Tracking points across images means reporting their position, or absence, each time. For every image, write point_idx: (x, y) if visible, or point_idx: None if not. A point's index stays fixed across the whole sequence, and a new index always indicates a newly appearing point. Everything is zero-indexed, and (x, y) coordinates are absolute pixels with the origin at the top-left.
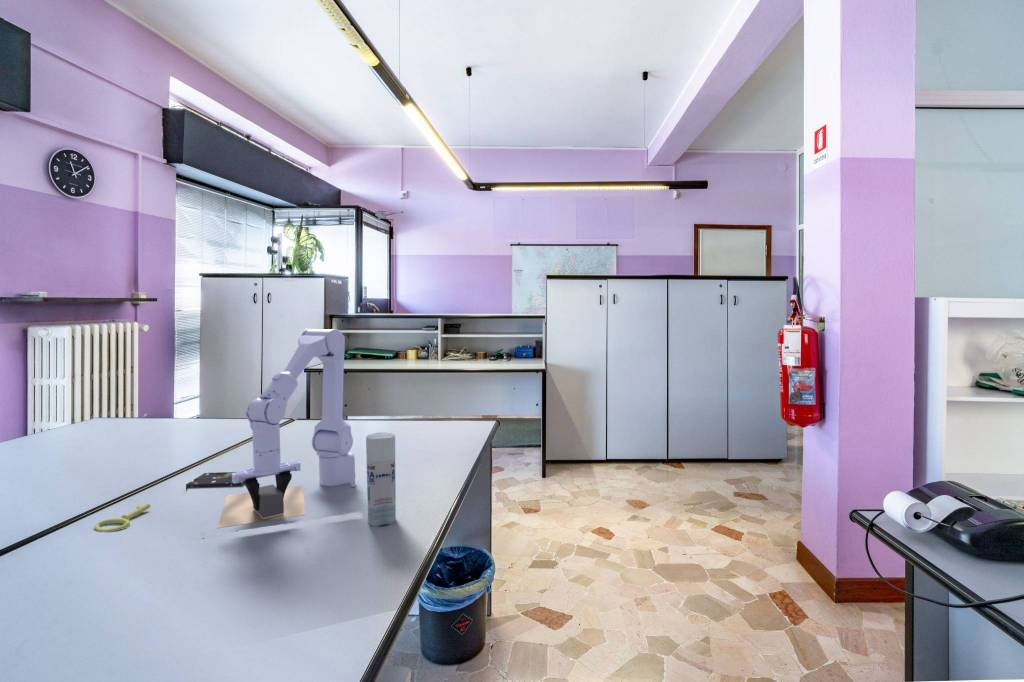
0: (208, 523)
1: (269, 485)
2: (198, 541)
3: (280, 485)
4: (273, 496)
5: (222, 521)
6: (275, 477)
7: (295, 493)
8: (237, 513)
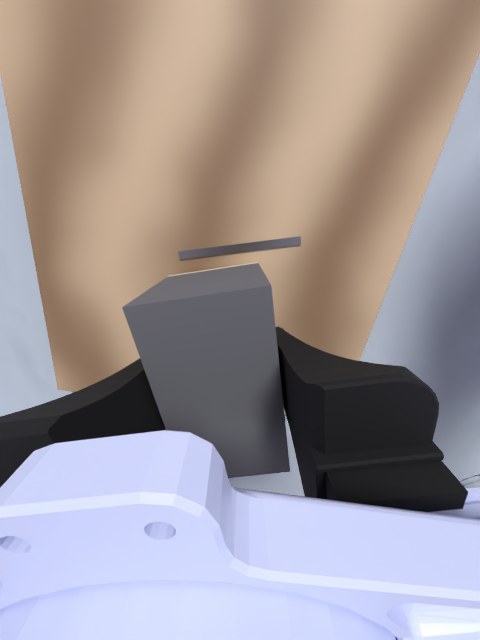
0: (9, 267)
1: (244, 297)
2: (29, 404)
3: (296, 451)
4: (238, 471)
5: (60, 339)
6: (297, 378)
7: (409, 114)
8: (105, 283)
